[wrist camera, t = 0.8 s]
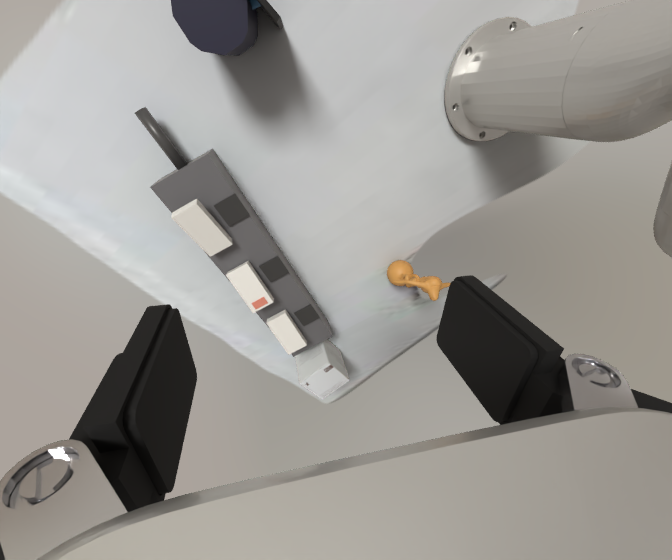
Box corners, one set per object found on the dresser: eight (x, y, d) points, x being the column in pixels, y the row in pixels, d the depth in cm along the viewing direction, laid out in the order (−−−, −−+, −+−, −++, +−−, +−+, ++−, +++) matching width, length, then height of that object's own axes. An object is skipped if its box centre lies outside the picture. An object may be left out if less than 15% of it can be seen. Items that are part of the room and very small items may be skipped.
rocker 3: (285, 309, 42) (285, 312, 41) (306, 340, 45) (306, 345, 43) (267, 319, 43) (266, 323, 42) (288, 350, 45) (288, 354, 44)
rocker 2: (248, 260, 38) (246, 263, 36) (274, 298, 40) (273, 302, 39) (227, 272, 38) (225, 275, 37) (254, 309, 40) (253, 313, 39)
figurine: (368, 276, 48) (397, 323, 38) (377, 241, 45) (412, 281, 35) (414, 279, 50) (453, 324, 40) (426, 246, 48) (471, 285, 37)
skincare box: (315, 368, 56) (322, 401, 50) (293, 351, 53) (298, 385, 46) (340, 349, 55) (351, 380, 49) (320, 331, 52) (328, 362, 45)
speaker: (251, -48, 27) (238, -95, 19) (284, 28, 31) (286, 16, 22) (181, -1, 28) (141, -27, 20) (221, 67, 32) (200, 69, 23)
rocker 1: (196, 198, 32) (196, 203, 31) (232, 238, 36) (232, 244, 35) (172, 212, 32) (171, 217, 31) (210, 250, 36) (210, 256, 35)
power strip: (176, 92, 31) (165, 91, 28) (328, 320, 51) (333, 337, 47) (118, 126, 32) (100, 130, 28) (291, 339, 51) (293, 358, 47)
